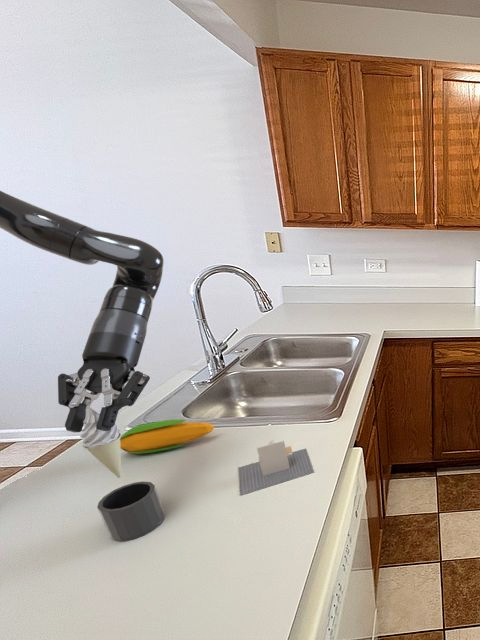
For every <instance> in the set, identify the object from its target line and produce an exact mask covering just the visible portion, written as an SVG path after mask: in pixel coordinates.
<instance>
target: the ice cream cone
mask: <svg viewBox="0 0 480 640" xmlns="http://www.w3.org/2000/svg"><path fill="white" fill-rule="evenodd" d="M99 415H100V412H99V413H98V412H97V411H95V410H94V409H93V408H91V406H90V407H89V406H88V405H87V406H86V416H85V420H84V422H83V423H84V426H83V428H82V431H81V432H82V433H81V435H79V437H80V438H81V439H83V441H82V444H83V445H82V448H83V449H85V450H87V451H88V452H89V453H90V454H91V455H92V456H94V458H96V459H97V460H98V461H99V462H100V463H101V464H102V465H103V466H104V467H105V468H107V469H108V471H110V472H111V473H112V474H113V475H114V476H115V477H116V478H118V479H120V478H122V476H123V475H122V453H121V452H122V449H121V448H120V438H121V436H122V434H121V430H120V429H119V426H118V424H117V423H115V425H114V426H113V427H111V430H110V431H102V430H98V429H97V428H96V425H97V422H98V419H99Z"/></svg>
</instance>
